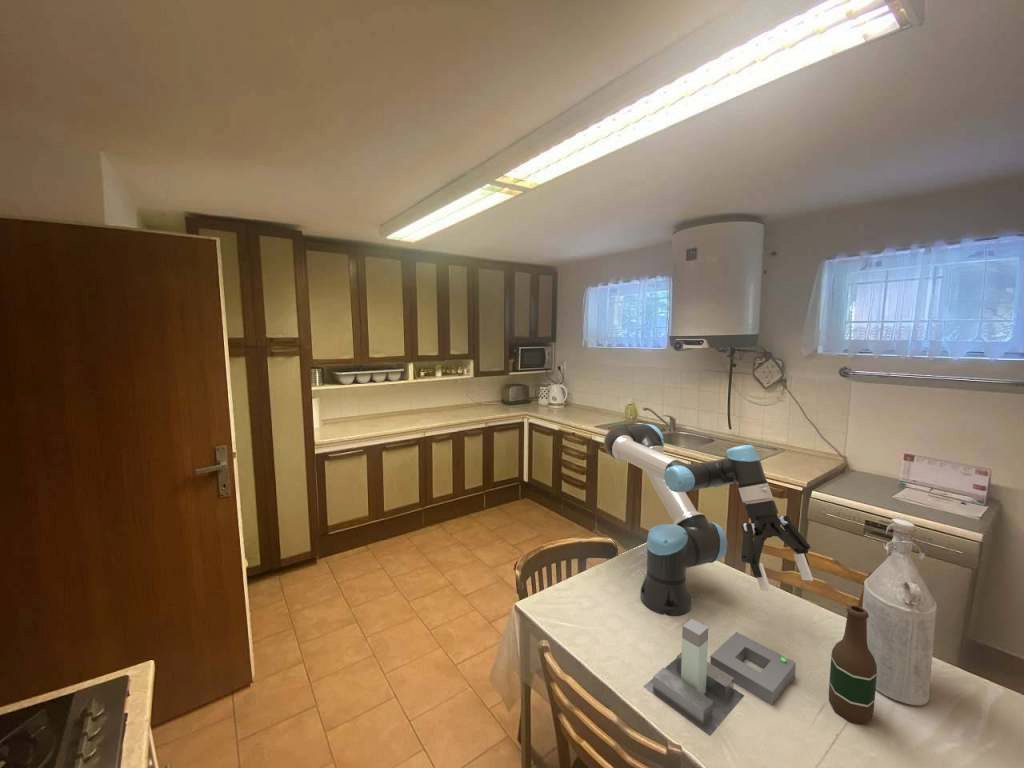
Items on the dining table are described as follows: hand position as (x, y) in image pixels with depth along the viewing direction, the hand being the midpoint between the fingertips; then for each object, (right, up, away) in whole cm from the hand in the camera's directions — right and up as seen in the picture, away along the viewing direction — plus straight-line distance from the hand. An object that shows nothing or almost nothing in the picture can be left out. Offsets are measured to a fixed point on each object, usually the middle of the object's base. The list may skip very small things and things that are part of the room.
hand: (787, 585), depth 108 cm
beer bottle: (+4, -21, -15) cm, 26 cm away
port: (-12, -20, -5) cm, 23 cm away
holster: (-29, -20, -11) cm, 37 cm away
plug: (-29, -20, -11) cm, 37 cm away
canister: (+21, -20, -7) cm, 29 cm away
